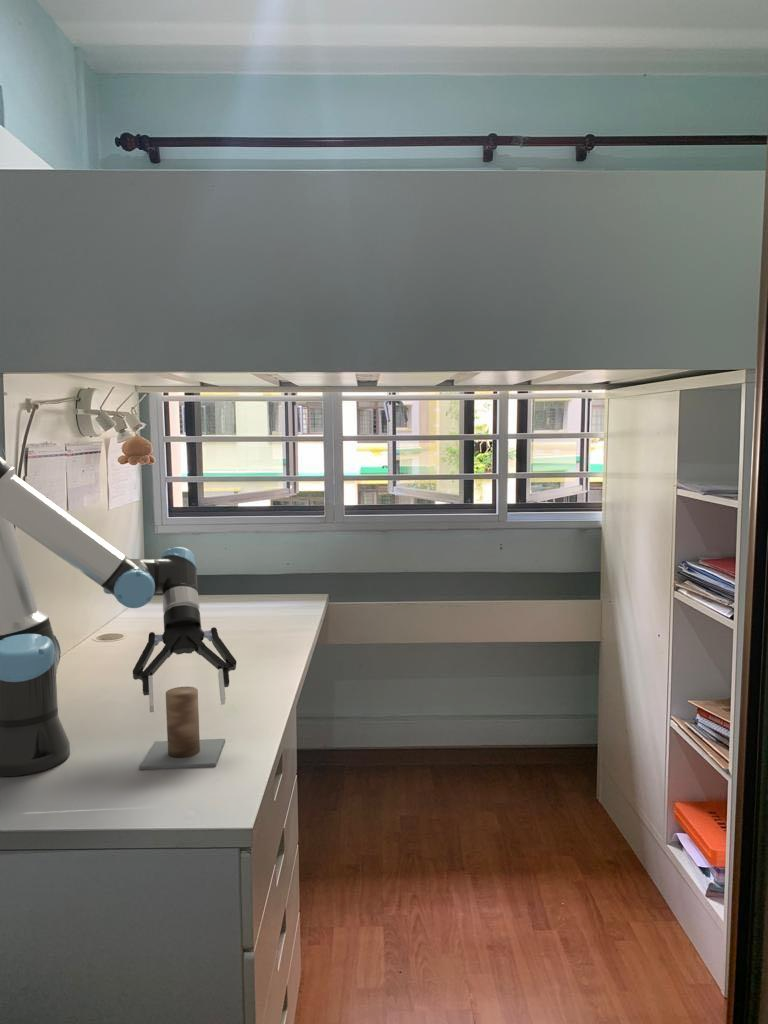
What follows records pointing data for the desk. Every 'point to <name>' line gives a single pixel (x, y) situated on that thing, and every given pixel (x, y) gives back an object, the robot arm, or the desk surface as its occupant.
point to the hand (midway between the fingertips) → (187, 705)
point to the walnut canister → (182, 722)
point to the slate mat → (204, 758)
